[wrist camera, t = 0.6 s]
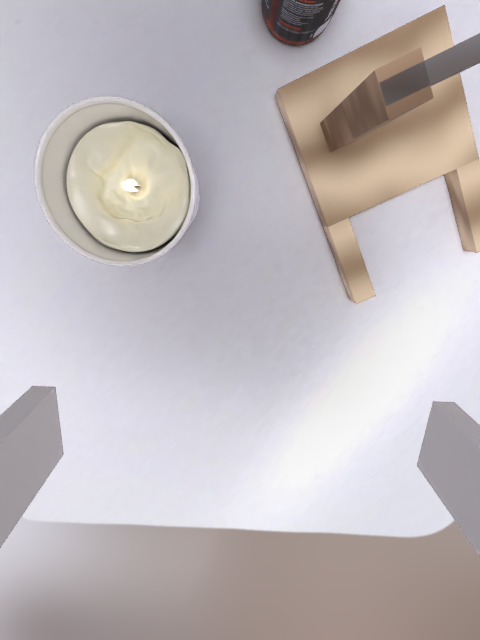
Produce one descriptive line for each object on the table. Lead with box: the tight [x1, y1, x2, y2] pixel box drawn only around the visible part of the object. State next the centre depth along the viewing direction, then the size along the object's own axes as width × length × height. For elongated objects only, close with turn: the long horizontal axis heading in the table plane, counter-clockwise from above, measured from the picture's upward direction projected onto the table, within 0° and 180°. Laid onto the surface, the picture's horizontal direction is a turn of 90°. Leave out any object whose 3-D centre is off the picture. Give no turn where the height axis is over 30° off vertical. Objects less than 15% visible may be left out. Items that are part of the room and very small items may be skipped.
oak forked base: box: [275, 5, 480, 304], centre depth 32 cm, size 20×14×2 cm
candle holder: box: [34, 96, 200, 267], centre depth 27 cm, size 10×10×12 cm
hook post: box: [320, 34, 480, 153], centre depth 24 cm, size 2×6×12 cm, turn 114°
